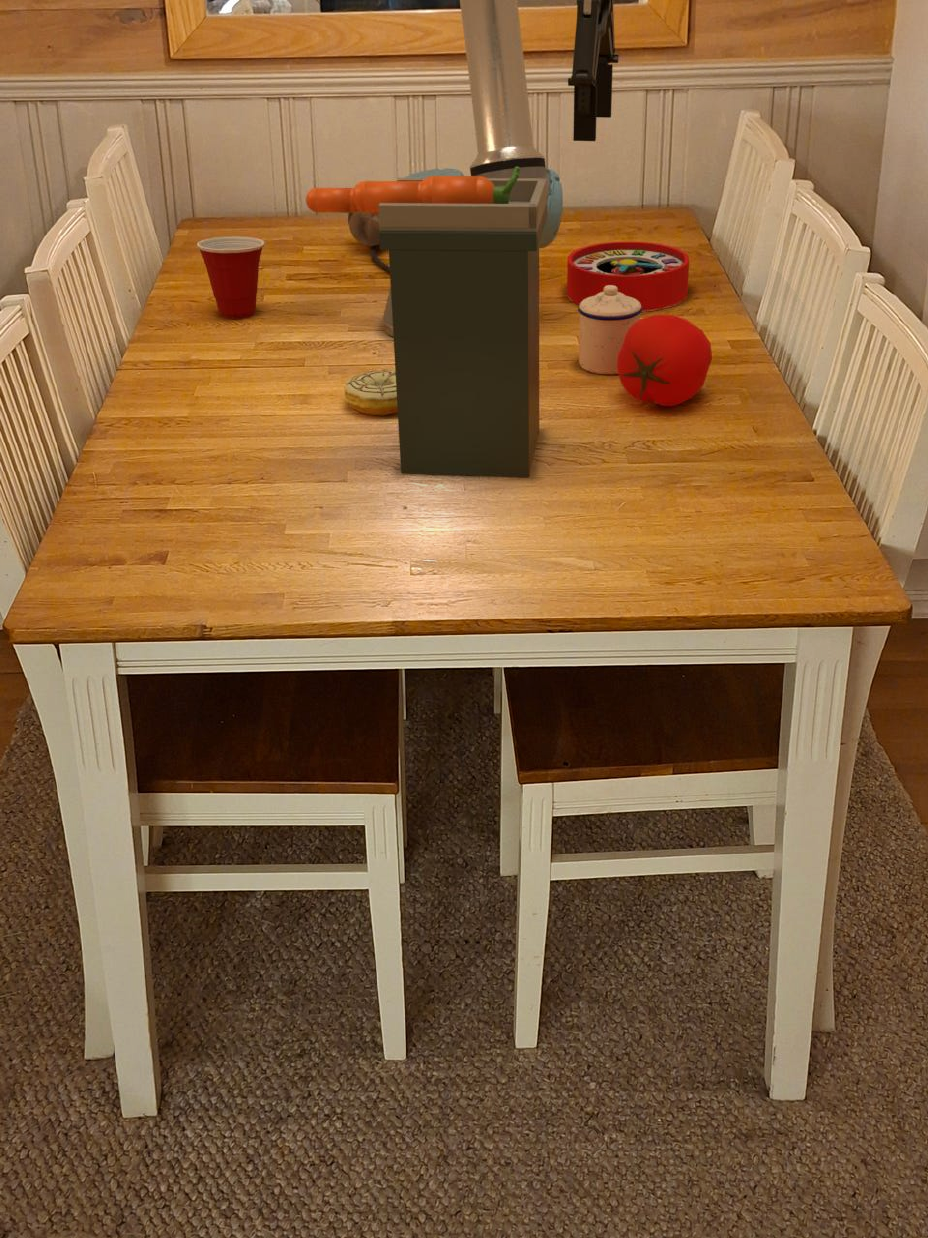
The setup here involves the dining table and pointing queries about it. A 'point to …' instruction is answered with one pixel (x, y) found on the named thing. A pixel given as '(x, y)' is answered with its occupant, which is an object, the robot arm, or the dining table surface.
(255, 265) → the plastic cup
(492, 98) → the robot arm
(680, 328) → the tomato
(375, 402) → the decorated donut
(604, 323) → the teacup with lid
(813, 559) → the dining table surface
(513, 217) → the stand
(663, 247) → the toy clock
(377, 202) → the carrot
